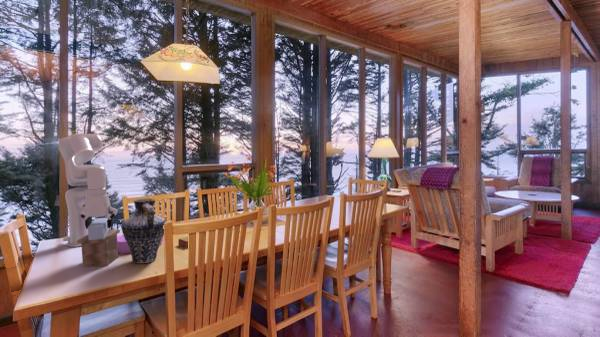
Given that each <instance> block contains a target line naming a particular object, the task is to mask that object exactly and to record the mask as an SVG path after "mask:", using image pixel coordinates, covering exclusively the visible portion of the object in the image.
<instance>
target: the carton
mask: <svg viewBox="0 0 600 337" xmlns="http://www.w3.org/2000/svg"><path fill="white" fill-rule="evenodd" d="M178 246H179V247H182V248H184V249H189V248H188V236H184V237H180V238H178Z"/></svg>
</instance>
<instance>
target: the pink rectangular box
mask: <svg viewBox="0 0 600 337" xmlns="http://www.w3.org/2000/svg"><path fill="white" fill-rule="evenodd" d="M163 242H164V236H163V237H162V240H161V243H160V245H162V244H163ZM117 245H118V255H119V254H121V255H123V254H124V255H126V254H131V251H130V248H129V246H128V244H127V242H126V240H125V238H124V235H123V234H122V235H117Z"/></svg>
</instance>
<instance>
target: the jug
mask: <svg viewBox="0 0 600 337" xmlns="http://www.w3.org/2000/svg"><path fill="white" fill-rule="evenodd" d="M155 201H156V199H155V198H153V199H152V198H149V197H145V198H137V199H134V200H133V204H134V207H135V212H134V213H133V215H131V216H130V217H128V218H126V219H125V220H124V221H123V222H122V224H121V232H122V235H124V238H125V240H126V242H127V244H128V246H129V248H130V251H131V253H130V254H131V259H132V263H133V264H134V263H135V264H148V263H151V262H154V261H155V260H156V259H157V257H158V256H157V255H158V251H159V248H160V246H161V244H162V243H161V240H162V237H163V238H164V235H165V233H164V229H163V225H164V223H165V222H167V221H166V220H165V218H164V217H161V216H159V215H157V214H156V213H155V208H154V205H155ZM160 243H161V244H160Z"/></svg>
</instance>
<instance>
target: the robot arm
mask: <svg viewBox="0 0 600 337" xmlns="http://www.w3.org/2000/svg"><path fill="white" fill-rule="evenodd" d="M102 139H103V138H101V136H100V135H99V134H96V133H76V134H73V135H71V136H67V137H61V138H59V140H58V149H59V153H60V155H61V157H62V158H63V160H64V165H65V166H64V167H65V176H66V181H67V184H68V185H69V186H71V187H72V186H74V188H70V189H68V190H67V191H66V192H65V195H64V196H65V202H66V206H67V213H68V214H67V216H68V226H69V227H68V230H69V231H68V232H69V236H63V237H62V241H63V242H66V241H67V243H66V246H67V247H69V248H75V247H76V248H78V247H82V244H81V243H77V240H79V239H81V238H83V237H85V236H87V235H88V227H89V225H90V224H91V223H92V220H91V219H90V218H99V217H100V218H107V219H108V220H107V228H109V229H110V228H112V226H113V225H114V224H113V219H114V218H115V217H116V216H117V214H118V208H117V209H116V208H114V207H112V206H111V201H110V197H109V194H107V180H106V179H107V178H106V177H107V176H106V175H107V174H106V167H104V165H102V164H85V163H88V162H89V161H91V160H92V159H94V156H95V152H97V151H99V150H100V149H102V147H103V140H102ZM75 186H84V187H75ZM85 186H86V187H85ZM111 213H112V214H111Z"/></svg>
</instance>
